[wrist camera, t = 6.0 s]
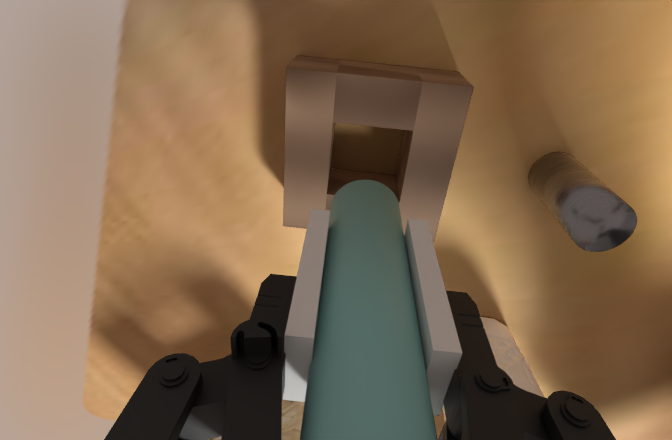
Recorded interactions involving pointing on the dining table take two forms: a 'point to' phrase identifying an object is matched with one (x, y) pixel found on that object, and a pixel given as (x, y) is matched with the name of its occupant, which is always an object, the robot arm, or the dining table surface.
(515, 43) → the dining table surface
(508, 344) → the white cup
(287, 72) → the hole block
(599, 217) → the short pin
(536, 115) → the dining table surface
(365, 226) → the long pin
